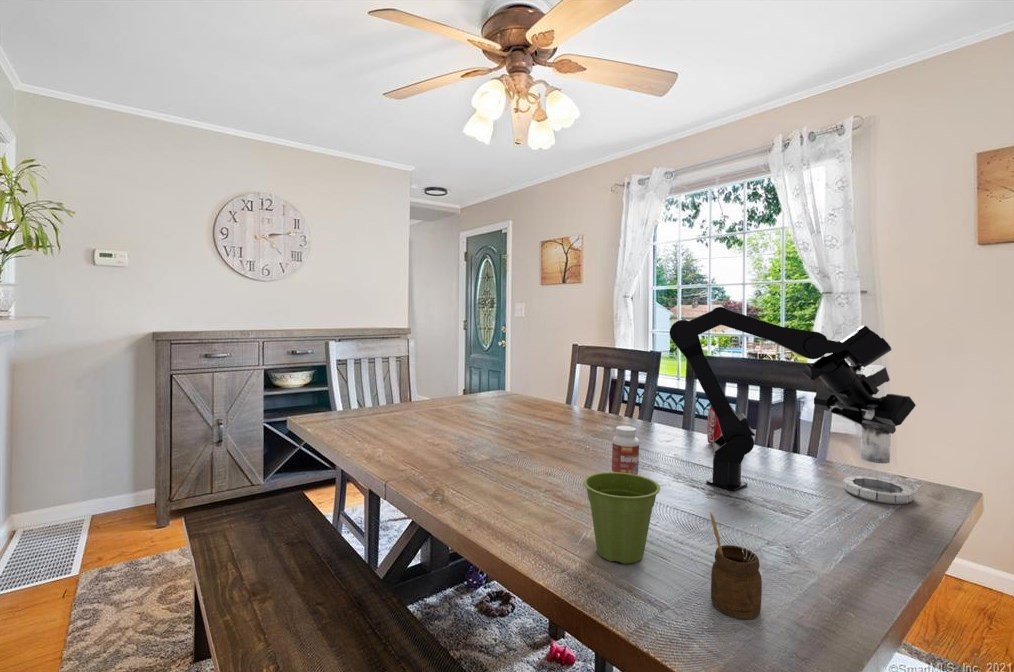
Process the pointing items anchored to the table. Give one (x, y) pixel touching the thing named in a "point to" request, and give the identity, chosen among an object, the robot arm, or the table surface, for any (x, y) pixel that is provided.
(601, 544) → the plant pot
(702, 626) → the table surface
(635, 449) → the pill bottle
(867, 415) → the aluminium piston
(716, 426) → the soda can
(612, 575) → the table surface
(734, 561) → the utensil holder
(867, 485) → the grey white ring
